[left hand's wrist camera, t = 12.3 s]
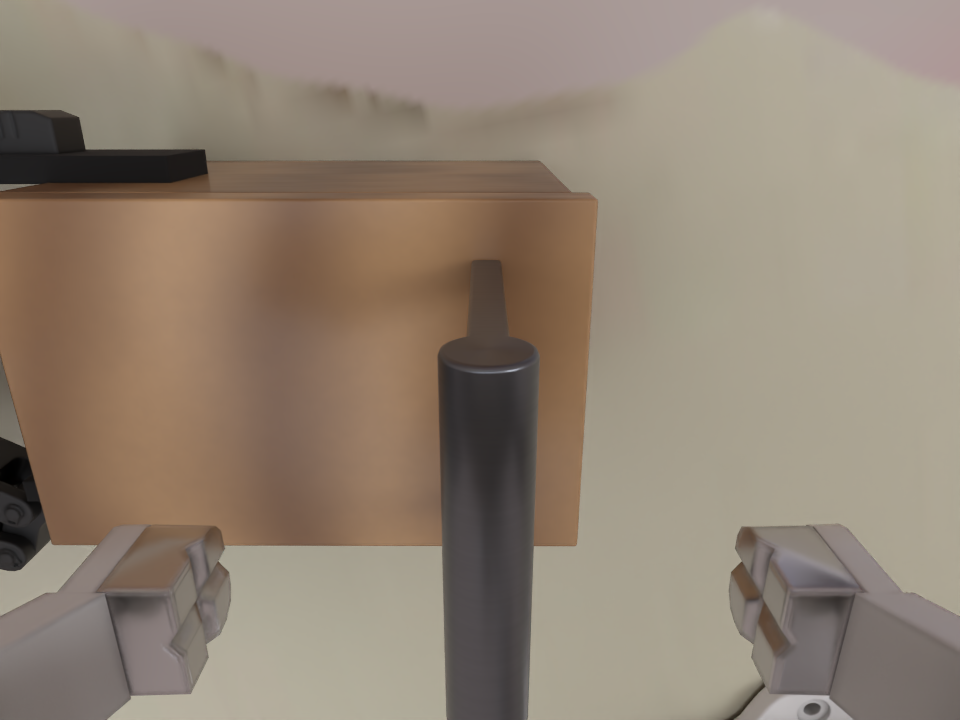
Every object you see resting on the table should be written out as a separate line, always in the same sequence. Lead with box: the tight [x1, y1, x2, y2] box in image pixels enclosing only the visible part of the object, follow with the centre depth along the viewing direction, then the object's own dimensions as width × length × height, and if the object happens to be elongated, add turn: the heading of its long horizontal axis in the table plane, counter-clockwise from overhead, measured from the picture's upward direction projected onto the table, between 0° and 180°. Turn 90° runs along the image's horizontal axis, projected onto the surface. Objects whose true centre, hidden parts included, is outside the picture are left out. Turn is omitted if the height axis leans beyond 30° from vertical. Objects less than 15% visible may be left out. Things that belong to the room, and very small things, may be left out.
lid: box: [0, 193, 598, 720], centre depth 14 cm, size 15×10×9 cm, turn 90°
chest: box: [0, 161, 572, 193], centre depth 23 cm, size 14×10×10 cm, turn 90°
